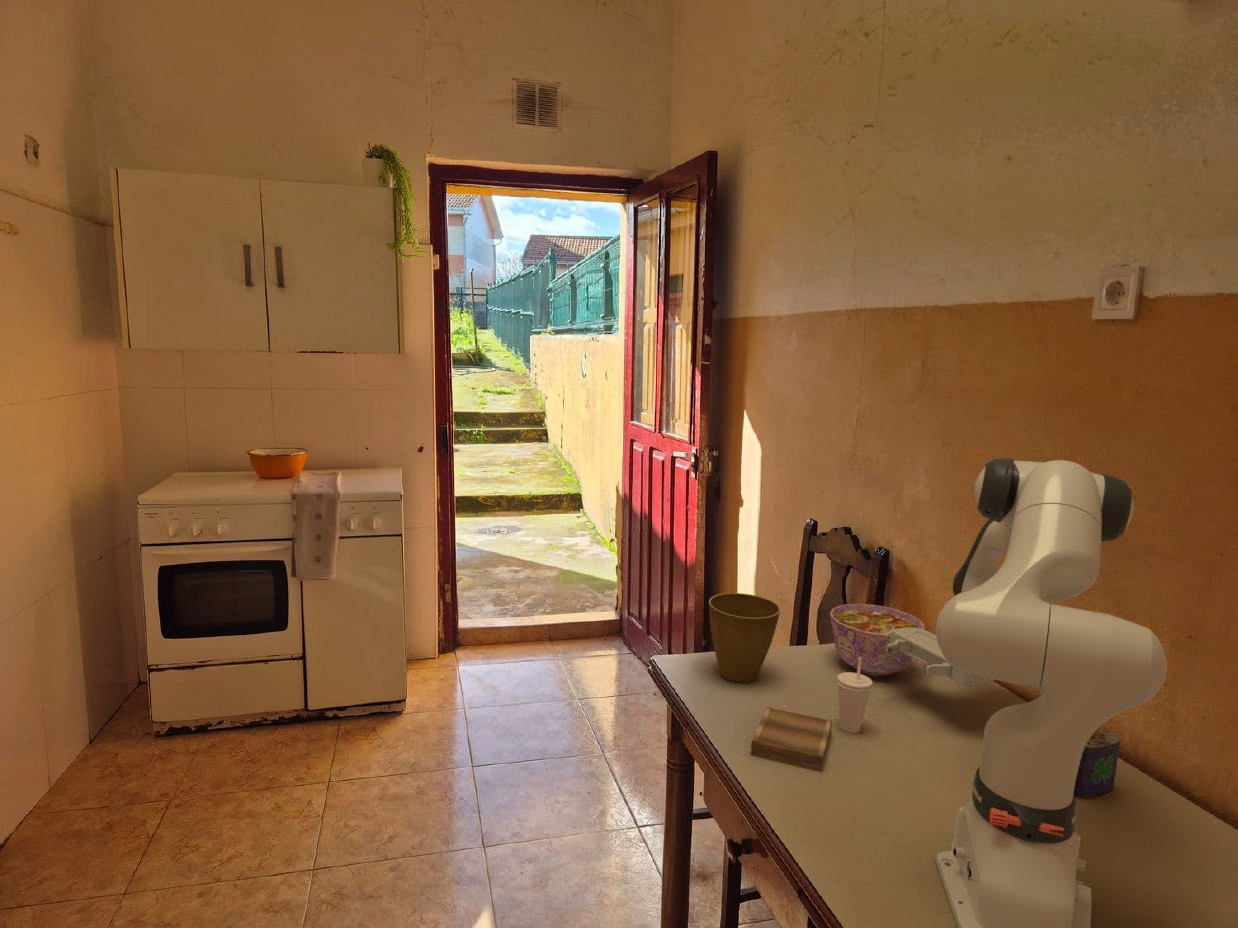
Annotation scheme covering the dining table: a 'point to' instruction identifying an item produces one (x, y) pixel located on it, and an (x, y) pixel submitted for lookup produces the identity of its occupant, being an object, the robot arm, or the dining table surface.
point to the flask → (1097, 766)
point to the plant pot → (742, 633)
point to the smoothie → (852, 698)
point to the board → (792, 738)
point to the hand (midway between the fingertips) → (906, 659)
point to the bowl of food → (870, 636)
